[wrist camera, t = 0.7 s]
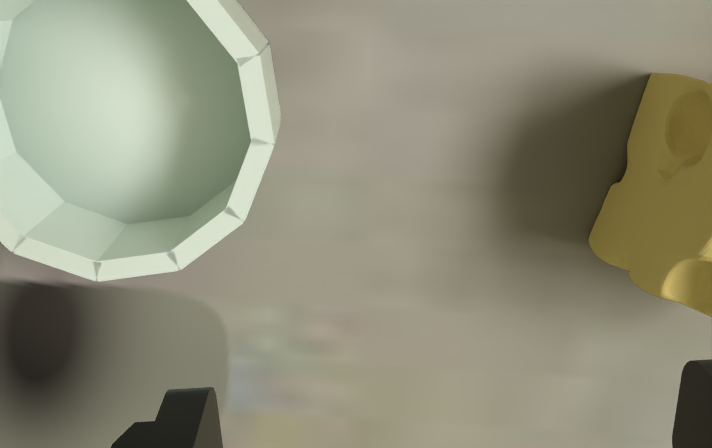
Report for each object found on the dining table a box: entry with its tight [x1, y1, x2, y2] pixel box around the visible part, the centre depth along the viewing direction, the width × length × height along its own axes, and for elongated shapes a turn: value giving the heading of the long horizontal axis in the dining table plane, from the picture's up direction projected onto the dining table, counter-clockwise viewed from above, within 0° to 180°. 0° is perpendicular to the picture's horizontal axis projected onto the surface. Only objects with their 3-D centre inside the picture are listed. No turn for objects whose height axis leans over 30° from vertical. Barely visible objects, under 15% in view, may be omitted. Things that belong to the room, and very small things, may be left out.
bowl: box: [0, 0, 281, 282], centre depth 31 cm, size 15×15×6 cm
